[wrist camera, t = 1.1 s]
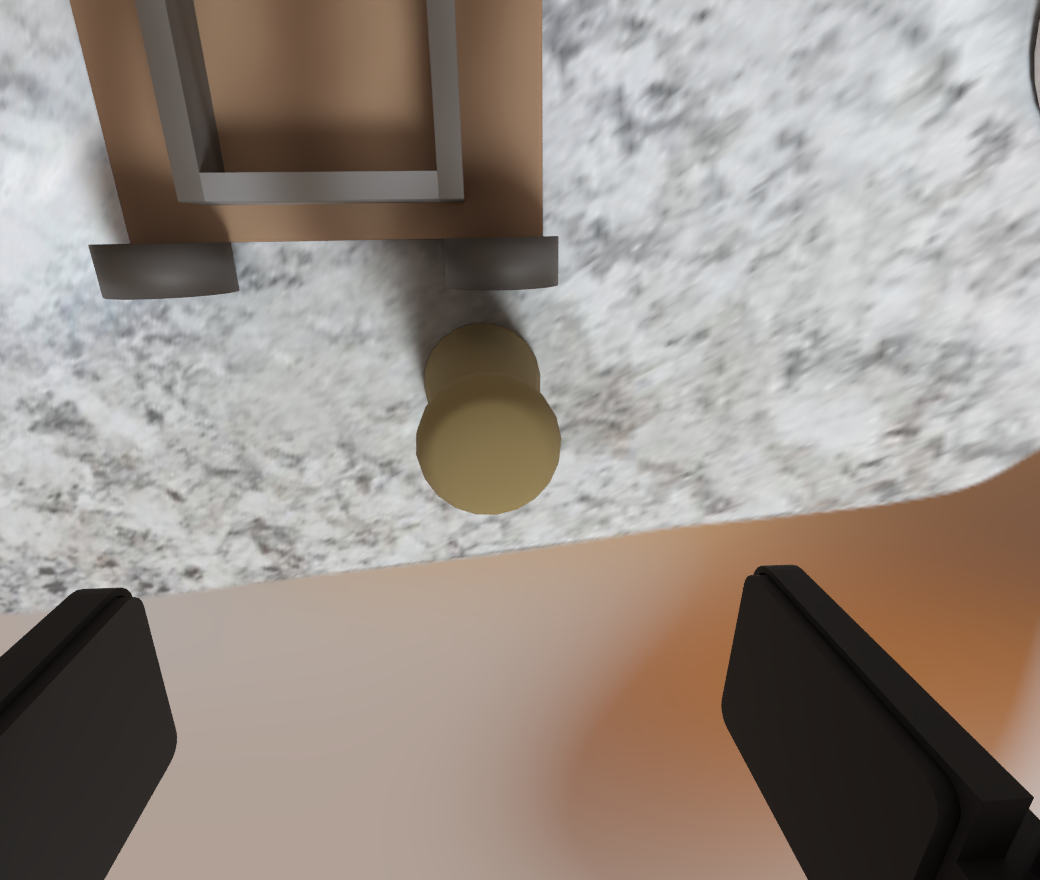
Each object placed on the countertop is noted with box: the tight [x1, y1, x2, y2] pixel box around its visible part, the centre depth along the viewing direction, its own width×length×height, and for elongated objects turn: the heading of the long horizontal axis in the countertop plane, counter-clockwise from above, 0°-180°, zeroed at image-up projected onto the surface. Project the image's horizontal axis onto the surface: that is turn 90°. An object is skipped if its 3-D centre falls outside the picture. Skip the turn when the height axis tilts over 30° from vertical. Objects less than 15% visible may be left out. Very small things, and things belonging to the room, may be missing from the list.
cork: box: [416, 323, 561, 515], centre depth 23 cm, size 6×6×11 cm
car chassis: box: [70, 0, 558, 300], centre depth 21 cm, size 19×18×5 cm
